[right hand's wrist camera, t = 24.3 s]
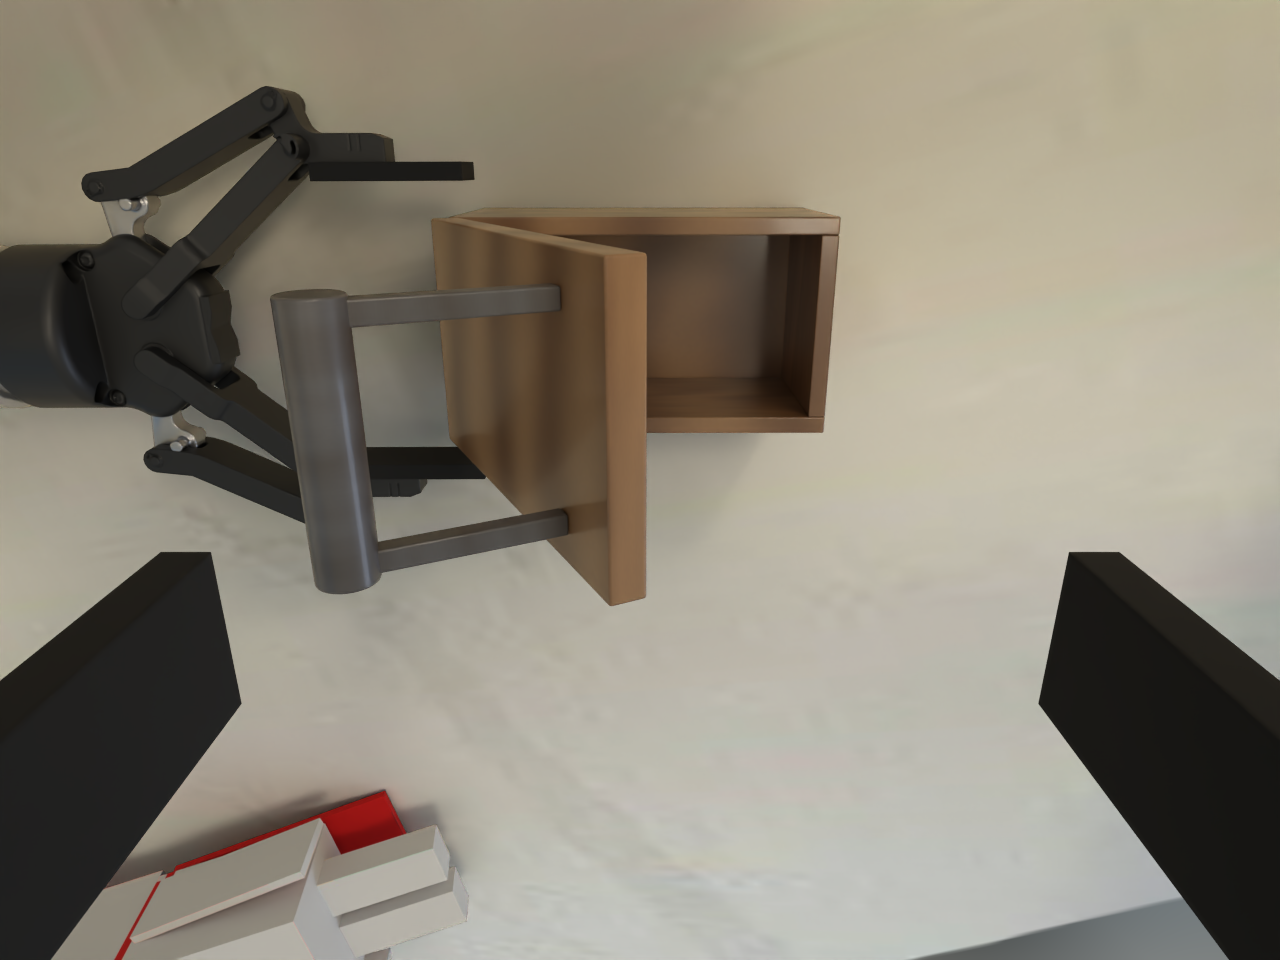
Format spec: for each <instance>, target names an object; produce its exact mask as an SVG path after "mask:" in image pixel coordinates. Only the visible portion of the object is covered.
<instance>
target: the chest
mask: <svg viewBox="0 0 1280 960" xmlns="http://www.w3.org/2000/svg"><path fill="white" fill-rule="evenodd" d="M449 218H461V219H467V220H472V221H477V222H483V223H488V224H493V225H499V226H504V227H509V228H515V229H520V230H526V231H531V232H536V233H542V234H547V235H552V236H558V237H563V238H568V239H574V240H579V241H584V242H590V243H595V244H600V245H606V246H611V247H617V248H622V249H627V250H633V251H638V252H643V253H646V255H647V398H646V433H822V432H823V430H824V416H825V405H826V393H827V380H828V368H829V356H830V343H831V331H832V319H833V307H834V294H835V282H836V270H837V257H838V245H839V236H838V235H839V232H840V217H838V216H834V215H830V214H826V213H822V212H817V211H813V210H809V209H805V208H482V209H479V210H475V211H471V212H467V213H463V214H460V215H456V216H452V217H449Z"/></svg>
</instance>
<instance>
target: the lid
mask: <svg viewBox="0 0 1280 960" xmlns="http://www.w3.org/2000/svg"><path fill="white" fill-rule="evenodd" d="M431 225H432V237H433V249H434V260H435V272H436V284H437V290H434V291H419V292H403V293H387V294H371V295H356V296H347V294H346V292H344V291H340V290H332V289H309V290H295V291H287V292H281V293H277V294H274V295H272V296H271V298H270V301H271V307H272V313H273V320H274V326H275V333H276V339H277V345H278V352H279V358H280V365H281V371H282V377H283V384H284V390H285V396H286V403H287V409H288V416H289V422H290V428H291V435H292V441H293V448H294V454H295V460H296V467H297V473H298V480H299V486H300V492H301V499H302V505H303V512H304V518H305V524H306V531H307V537H308V544H309V550H310V556H311V563H312V569H313V576H314V582H315V586H316V587H317V588H318V589H319V590H320V591H322V592H325V593H329V594H348V593H354V592H358V591H361V590H364V589H367V588H369V587H371V586H373V585H374V584H376V583H377V582H378V581H379V580H380V578H381V575H382V573H383V572H388V571H393V570H398V569H403V568H408V567H413V566H417V565H422V564H427V563H432V562H437V561H442V560H447V559H452V558H457V557H462V556H467V555H472V554H477V553H482V552H487V551H491V550H496V549H501V548H506V547H511V546H516V545H521V544H526V543H531V542H536V541H541V540H547V541H548V542H549V543H550V544H551V545H552V546H553V547H554V548H555V549H556V550H557V551H558V552H559V553H560V555H561V556H562V557H563V558H564V559H565V560H566V561H567V562H568V563H569V564H570V565H571V566H572V567H573V568H574V569H575V570H576V571H577V572H578V573H579V574H580V575H581V577H582V578H583V579H584V580H585V581H586V582H587V583H588V584H589V585H590V586H591V587H592V588H593V589H594V590H595V591H596V592H597V593H598V594H599V595H600V596H601V597H602V599H603V600H604V601H605V602H606V603H607V604H608V605H609V606H614V605H619V604H623V603H627V602H631V601H635V600H639V599H643V598H645V597H646V398H647V255H646V253H643V252H638V251H633V250H627V249H622V248H617V247H611V246H606V245H600V244H595V243H590V242H584V241H579V240H574V239H568V238H563V237H558V236H552V235H547V234H542V233H536V232H531V231H526V230H520V229H515V228H509V227H504V226H499V225H493V224H488V223H483V222H477V221H472V220H467V219H461V218H433V219H432V220H431ZM429 321H440V330H441V342H442V354H443V365H444V377H445V389H446V400H447V412H448V424H449V435H450V439H451V440H452V441H453V442H454V443H455V444H456V446H457V447H458V448H459V449H460V450H461V451H462V452H463V453H464V454H465V455H466V456H467V457H468V458H469V459H470V460H471V461H472V462H473V463H474V464H475V465H476V466H477V468H478V469H479V470H480V471H481V472H482V473H483V474H484V475H485V476H486V477H487V478H488V479H489V480H490V481H491V482H492V483H493V484H494V485H495V486H496V487H497V488H498V490H499V491H500V492H501V493H502V494H503V495H504V496H505V497H506V498H507V499H508V500H509V501H510V502H511V503H512V504H513V505H514V506H515V507H516V508H517V509H518V510H519V512H520V513H521V514H522V515H520V516H514V517H509V518H504V519H498V520H493V521H488V522H482V523H477V524H471V525H466V526H461V527H455V528H450V529H445V530H439V531H434V532H429V533H423V534H418V535H413V536H407V537H402V538H397V539H391V540H386V541H381V542H378V539H377V531H376V522H375V514H374V506H373V498H372V490H371V482H370V474H369V466H368V458H367V450H366V442H365V433H364V425H363V417H362V409H361V401H360V393H359V385H358V377H357V369H356V361H355V353H354V344H353V336H352V328H353V327H366V326H378V325H391V324H403V323H416V322H429Z"/></svg>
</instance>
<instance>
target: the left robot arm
mask: <svg viewBox="0 0 1280 960" xmlns="http://www.w3.org/2000/svg"><path fill="white" fill-rule="evenodd" d="M272 135H274V136H273V137H274V138H276V139H277V141H276V142H275V143H274V144H273V145H272V146H271V147H270V148H269V149H268V150H267V151H266V153H265V154H264V155H263V156H262V157H261V158H260V159H259V160H258V161H257V162H256V163H255V164H254V165H253V166H252V167H251V168H250V170H249V171H248V172H247V173H246V174H245V175H244V176H243V177H242V178H241V179H240V180H239V181H238V182H237V183H236V184H235V185H234V187H233V188H232V189H231V190H230V191H229V192H228V193H227V194H226V195H225V196H224V197H223V198H222V199H221V200H220V201H219V203H218V204H217V205H216V206H215V207H214V208H213V209H212V210H211V211H210V212H209V213H208V214H207V215H206V216H205V217H204V218H203V220H202V221H201V222H200V223H199V224H198V225H197V226H196V227H195V228H194V229H193V230H192V231H191V232H190V233H189V234H188V235H187V236H186V237H184V238H182V239H180V240H179V241H178V242H176V243H175V244H174V245H173V246H172V247H171V248H170V247H169V246H167V245H166V244H164V243H162V242H161V241H159V240H158V239H156V238H155V237H153V236H151V235H149V234H146V233H145V232H144V223H145V221H146V220H147V219H148V218H149V217H151V216H153V215H155V214H156V213H157V212H158V210H159V207H160V205H161V201H160V199H159V198H158V197H159V196H164V195H168V194H171V193H174V192H177V191H179V190H181V189H183V188H185V187H186V186H188V185H190V184H191V183H193V182H195V181H196V180H198V179H200V178H202V177H203V176H205V175H207V174H208V173H210V172H212V171H213V170H215V169H217V168H218V167H220V166H222V165H223V164H225V163H227V162H229V161H230V160H232V159H234V158H235V157H237V156H239V155H240V154H242V153H244V152H245V151H247V150H249V149H250V148H252V147H254V146H256V145H257V144H259V143H261V142H262V141H264V140H266V139H267V138H269V137H271V136H272ZM308 175H309V176H310V181H463V180H474V167H473V162H395V157H394V147H393V139H391V138H388V137H386V136H384V135H381V134H374V133H320V132H318V131H317V130H316V129H315V128H314V127H313V126H312V125H311V123H310V121H309V119H308V117H307V115H306V113H305V103H304V101H303V99H302V98H301V96H300V95H299V94H297V93H295V92H292V91H288V90H283V89H279V88H274V87H268V86H265V87H262V88H259V89H258V90H256V91H254V92H253V93H251V94H249V95H248V96H246V97H245V98H243V99H241V100H240V101H238V102H236V103H235V104H233V105H231V106H230V107H228V108H226V109H225V110H223V111H221V112H220V113H218V114H216V115H215V116H213V117H212V118H210V119H208V120H207V121H205V122H203V123H202V124H200V125H198V126H197V127H195V128H193V129H192V130H190V131H188V132H187V133H185V134H183V135H182V136H180V137H178V138H177V139H175V140H174V141H172V142H170V143H169V144H167V145H165V146H164V147H162V148H160V149H159V150H157V151H155V152H154V153H152V154H150V155H149V156H147V157H145V158H144V159H142V160H141V161H139V162H137V163H136V164H134V165H132V166H131V167H129V168H122V169H115V170H107V171H99V172H92V173H88V174H86V175H85V176H84V177H83V179H82V183H81V184H82V190H83V191H84V193H85V195H86V196H87V197H88V198H89V199H91V200H93V201H95V202H101V204H102V207H103V210H104V213H105V216H106V219H107V222H108V225H109V228H110V231H111V234H112V238H110V239H109V240H107V241H106V242H104V243H102V244H62V245H16V246H11V247H6V246H3V245H0V408H25V407H30V406H35V407H41V408H112V407H129V408H134V409H138V410H140V411H143V412H145V413H147V414H149V415H151V418H152V428H153V438H154V447H153V448H152V449H150V450H148V451H146V453H145V454H144V463H145V465H146V466H147V467H148V468H149V469H150V470H152V471H154V472H159V473H169V474H179V475H189V476H194V477H196V478H199V479H201V480H203V481H206V482H208V483H210V484H213V485H215V486H217V487H220V488H222V489H225V490H227V491H229V492H232V493H234V494H236V495H239V496H241V497H243V498H246V499H248V500H251V501H253V502H255V503H258V504H260V505H262V506H265V507H267V508H269V509H272V510H274V511H277V512H279V513H281V514H284V515H286V516H288V517H291V518H293V519H296V520H298V521H300V522H303V523H305V518H304V512H303V505H302V499H301V492H300V486H299V480H298V473H297V467H296V460H295V454H294V448H293V441H292V435H291V428H290V422H289V416H288V410H286V409H285V408H283V407H282V406H281V405H279V404H278V403H276V402H275V401H274V400H272V399H271V398H269V397H268V396H267V395H265V394H264V393H263V392H261V391H260V390H259V389H258V388H257V384H256V383H255V382H254V381H253V380H252V379H251V378H249V377H248V376H247V375H245V374H244V373H243V372H241V371H240V370H238V369H237V368H236V367H234V363H235V359H236V357H237V356H239V355H240V351H239V345H238V339H237V337H236V335H235V333H234V330H233V328H232V326H231V323H230V320H231V309H232V305H231V300H230V294H229V290H223V287H222V286H221V284H220V283H219V281H218V280H217V279H216V278H215V277H214V276H215V275H216V274H217V273H218V272H219V271H220V270H221V269H222V268H223V267H224V266H225V265H226V264H227V263H228V262H229V261H230V260H231V258H232V257H233V256H234V252H235V250H236V249H237V248H238V247H239V246H240V245H241V244H242V243H243V242H244V241H245V240H246V239H247V238H248V237H249V236H250V235H251V234H252V233H253V232H254V231H255V230H256V229H257V228H258V227H259V225H260V224H261V223H262V222H263V221H264V220H265V219H266V218H267V217H268V216H269V215H270V214H271V213H272V212H273V211H274V210H275V209H276V208H277V207H278V206H279V205H280V204H281V203H282V202H283V201H284V200H285V199H286V198H287V196H288V195H289V194H290V193H291V192H292V191H293V190H294V189H295V188H296V187H297V186H298V185H299V184H300V183H301V182H302V181H303V180H304V179H305V178H306V177H307V176H308ZM214 385H215V386H217V387H218V388H216V387H214ZM219 388H220V389H219ZM190 405H192V406H193V407H195V408H196V409H197V410H199V411H200V412H202V413H203V414H205V415H206V416H208V417H209V418H212V419H214V420H221V421H224V422H225V423H227V424H228V425H230V426H231V427H233V428H234V429H235V430H237V431H238V432H240V433H241V434H243V435H244V436H245V437H247V438H248V439H250V440H251V441H252V442H254V443H255V444H257V445H258V446H260V447H261V448H262V449H264V450H265V451H267V452H268V453H270V454H271V455H272V456H274V457H275V458H277V459H278V460H280V461H281V462H282V463H284V464H285V465H287V466H288V467H290V468H291V469H290V468H287V467H285V466H283V465H280V464H278V463H276V462H273V461H271V460H269V459H266V458H264V457H262V456H259V455H257V454H255V453H253V452H250V451H248V450H246V449H243V448H241V447H239V446H236V445H234V444H232V443H229V442H226V441H224V440H220V439H216V438H212V437H205V436H206V431H205V430H204V429H203V428H202V427H196V426H194V425H191V424H189V423H188V422H186V421H185V420H184V418H183V416H182V413H181V410H184V409H186V408H187V407H188V406H190ZM366 450H367V458H368V466H369V474H370V482H371V490H372V497H391V496H392V497H399V496H400V497H411V496H414V495H416V494H419V493H421V491H422V490H423V489H424V487H425V486H426V484H427V479H485V478H486V476H485V475H484V474H483V473H482V472H481V471H480V470H479V469H478V468H477V466H476V465H475V464H474V463H473V462H472V461H471V460H470V459H469V458H468V457H467V456H466V455H465V454H464V453H463V452H462V451H461V450H460V449H459V448H458V447H366Z"/></svg>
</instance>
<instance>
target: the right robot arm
mask: <svg viewBox="0 0 1280 960" xmlns="http://www.w3.org/2000/svg"><path fill="white" fill-rule="evenodd" d="M241 704H242V703H241V699H240V694H239V689H238V684H237V679H236V674H235V669H234V664H233V659H232V654H231V649H230V644H229V639H228V634H227V629H226V624H225V619H224V615H223V610H222V605H221V600H220V595H219V590H218V585H217V580H216V575H215V570H214V565H213V560H212V555H211V552H160V553H159V554H158V555H157V556H155V557H154V558H153V559H152V560H150V561H149V562H148V563H147V564H145V565H144V566H143V567H142V568H140V569H139V570H138V571H137V572H135V573H134V574H133V575H132V576H130V577H129V578H128V579H127V580H125V581H124V582H123V583H122V584H120V585H119V586H118V587H117V588H115V589H114V590H113V591H112V592H110V593H109V594H108V595H107V596H105V597H104V598H103V599H102V600H100V601H99V602H98V603H97V604H95V605H94V606H93V607H92V608H90V609H89V610H88V611H87V612H85V613H84V614H83V615H82V616H80V617H79V618H78V619H77V620H75V621H74V622H73V623H72V624H71V625H69V626H68V627H67V628H66V629H64V630H63V631H62V632H61V633H59V634H58V635H57V636H56V637H54V638H53V639H52V640H51V641H49V642H48V643H47V644H46V645H44V646H43V647H42V648H41V649H39V650H38V651H37V652H36V653H34V654H33V655H32V656H31V657H29V658H28V659H27V660H26V661H24V662H23V663H22V664H21V665H19V666H18V667H17V668H16V669H14V670H13V671H12V672H11V673H9V674H8V675H7V676H6V677H4V678H3V679H2V680H1V681H0V960H51V959H52V958H53V956H54V955H55V954H56V952H57V951H58V950H59V948H60V947H61V946H62V944H63V943H64V942H65V940H66V939H67V937H68V936H69V935H70V933H71V932H72V931H73V929H74V928H75V927H76V925H77V924H78V923H79V921H80V920H81V919H82V917H83V916H84V915H85V913H86V912H87V911H88V909H89V908H90V907H91V905H92V904H93V903H94V901H95V900H96V899H97V897H98V896H99V894H100V893H101V892H102V890H103V889H104V888H105V886H106V885H107V884H108V882H109V881H110V880H111V878H112V877H113V876H114V874H115V873H116V872H117V870H118V869H119V868H120V866H121V865H122V864H123V862H124V861H125V860H126V858H127V857H128V856H129V854H130V853H131V851H132V850H133V849H134V847H135V846H136V845H137V843H138V842H139V841H140V839H141V838H142V837H143V835H144V834H145V833H146V831H147V830H148V829H149V827H150V826H151V825H152V823H153V822H154V821H155V819H156V818H157V817H158V815H159V814H160V813H161V811H162V810H163V808H164V807H165V806H166V804H167V803H168V802H169V800H170V799H171V798H172V796H173V795H174V794H175V792H176V791H177V790H178V788H179V787H180V786H181V784H182V783H183V782H184V780H185V779H186V778H187V776H188V775H189V774H190V772H191V771H192V770H193V768H194V767H195V765H196V764H197V763H198V761H199V760H200V759H201V757H202V756H203V755H204V753H205V752H206V751H207V749H208V748H209V747H210V745H211V744H212V743H213V741H214V740H215V739H216V737H217V736H218V735H219V733H220V732H221V731H222V729H223V728H224V727H225V725H226V724H227V722H228V721H229V720H230V718H231V717H232V716H233V714H234V713H235V712H236V710H237V709H238V708H239V706H240V705H241ZM1038 704H1039V705H1040V706H1041V708H1042V709H1043V710H1044V712H1045V713H1046V714H1047V716H1048V717H1049V718H1050V720H1051V721H1052V722H1053V724H1054V725H1055V727H1056V728H1057V729H1058V731H1059V732H1060V733H1061V735H1062V736H1063V737H1064V739H1065V740H1066V741H1067V743H1068V744H1069V745H1070V747H1071V748H1072V749H1073V751H1074V752H1075V753H1076V755H1077V756H1078V757H1079V759H1080V760H1081V761H1082V763H1083V764H1084V765H1085V767H1086V768H1087V770H1088V771H1089V772H1090V774H1091V775H1092V776H1093V778H1094V779H1095V780H1096V782H1097V783H1098V784H1099V786H1100V787H1101V788H1102V790H1103V791H1104V792H1105V794H1106V795H1107V796H1108V798H1109V799H1110V800H1111V802H1112V803H1113V804H1114V806H1115V807H1116V808H1117V810H1118V811H1119V813H1120V814H1121V815H1122V817H1123V818H1124V819H1125V821H1126V822H1127V823H1128V825H1129V826H1130V827H1131V829H1132V830H1133V831H1134V833H1135V834H1136V835H1137V837H1138V838H1139V839H1140V841H1141V842H1142V843H1143V845H1144V846H1145V847H1146V849H1147V850H1148V851H1149V853H1150V854H1151V856H1152V857H1153V858H1154V860H1155V861H1156V862H1157V864H1158V865H1159V866H1160V868H1161V869H1162V870H1163V872H1164V873H1165V874H1166V876H1167V877H1168V878H1169V880H1170V881H1171V882H1172V884H1173V885H1174V886H1175V888H1176V889H1177V890H1178V892H1179V893H1180V894H1181V896H1182V897H1183V899H1184V900H1185V901H1186V903H1187V904H1188V905H1189V907H1190V908H1191V909H1192V911H1193V912H1194V913H1195V915H1196V916H1197V917H1198V919H1199V920H1200V921H1201V923H1202V924H1203V925H1204V927H1205V928H1206V929H1207V931H1208V932H1209V933H1210V935H1211V936H1212V937H1213V939H1214V940H1215V942H1216V943H1217V944H1218V946H1219V947H1220V948H1221V950H1222V951H1223V952H1224V954H1225V955H1226V956H1227V958H1228V959H1229V960H1280V681H1279V680H1278V679H1277V678H1276V677H1274V676H1273V675H1272V674H1271V673H1269V672H1268V671H1267V670H1266V669H1264V668H1263V667H1262V666H1261V665H1259V664H1258V663H1257V662H1256V661H1254V660H1253V659H1252V658H1251V657H1249V656H1248V655H1247V654H1246V653H1244V652H1243V651H1242V650H1241V649H1239V648H1238V647H1237V646H1236V645H1234V644H1233V643H1232V642H1231V641H1229V640H1228V639H1227V638H1226V637H1224V636H1223V635H1222V634H1221V633H1219V632H1218V631H1217V630H1216V629H1214V628H1213V627H1212V626H1211V625H1209V624H1208V623H1207V622H1206V621H1205V620H1203V619H1202V618H1201V617H1200V616H1198V615H1197V614H1196V613H1195V612H1193V611H1192V610H1191V609H1190V608H1188V607H1187V606H1186V605H1185V604H1183V603H1182V602H1181V601H1180V600H1178V599H1177V598H1176V597H1175V596H1173V595H1172V594H1171V593H1170V592H1168V591H1167V590H1166V589H1165V588H1163V587H1162V586H1161V585H1160V584H1158V583H1157V582H1156V581H1155V580H1153V579H1152V578H1151V577H1150V576H1148V575H1147V574H1146V573H1145V572H1143V571H1142V570H1141V569H1140V568H1138V567H1137V566H1136V565H1135V564H1133V563H1132V562H1131V561H1130V560H1128V559H1127V558H1126V557H1125V556H1123V555H1122V554H1121V553H1120V552H1069V555H1068V560H1067V565H1066V570H1065V575H1064V580H1063V585H1062V590H1061V595H1060V600H1059V605H1058V610H1057V615H1056V619H1055V624H1054V629H1053V634H1052V639H1051V644H1050V649H1049V654H1048V659H1047V664H1046V669H1045V674H1044V679H1043V684H1042V689H1041V694H1040V699H1039V703H1038Z"/></svg>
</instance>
